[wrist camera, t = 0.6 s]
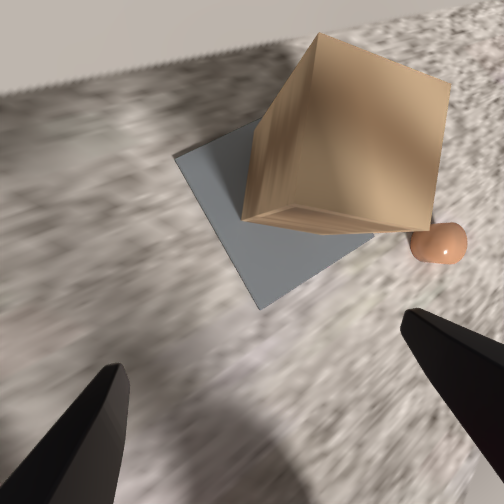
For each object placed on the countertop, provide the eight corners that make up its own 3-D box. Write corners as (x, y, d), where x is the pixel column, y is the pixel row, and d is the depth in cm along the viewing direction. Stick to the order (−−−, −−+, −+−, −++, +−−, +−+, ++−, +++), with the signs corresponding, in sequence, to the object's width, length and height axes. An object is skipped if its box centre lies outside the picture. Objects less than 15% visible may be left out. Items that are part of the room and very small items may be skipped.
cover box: (322, 235, 22) (429, 230, 13) (241, 220, 21) (293, 203, 11) (334, 151, 22) (451, 84, 13) (254, 130, 21) (318, 32, 11)
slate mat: (371, 236, 24) (374, 236, 24) (258, 309, 22) (260, 310, 21) (307, 97, 22) (309, 94, 22) (174, 160, 20) (174, 158, 19)
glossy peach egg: (445, 250, 26) (472, 251, 24) (419, 269, 26) (444, 272, 23) (432, 217, 26) (458, 215, 23) (404, 235, 25) (428, 235, 23)
